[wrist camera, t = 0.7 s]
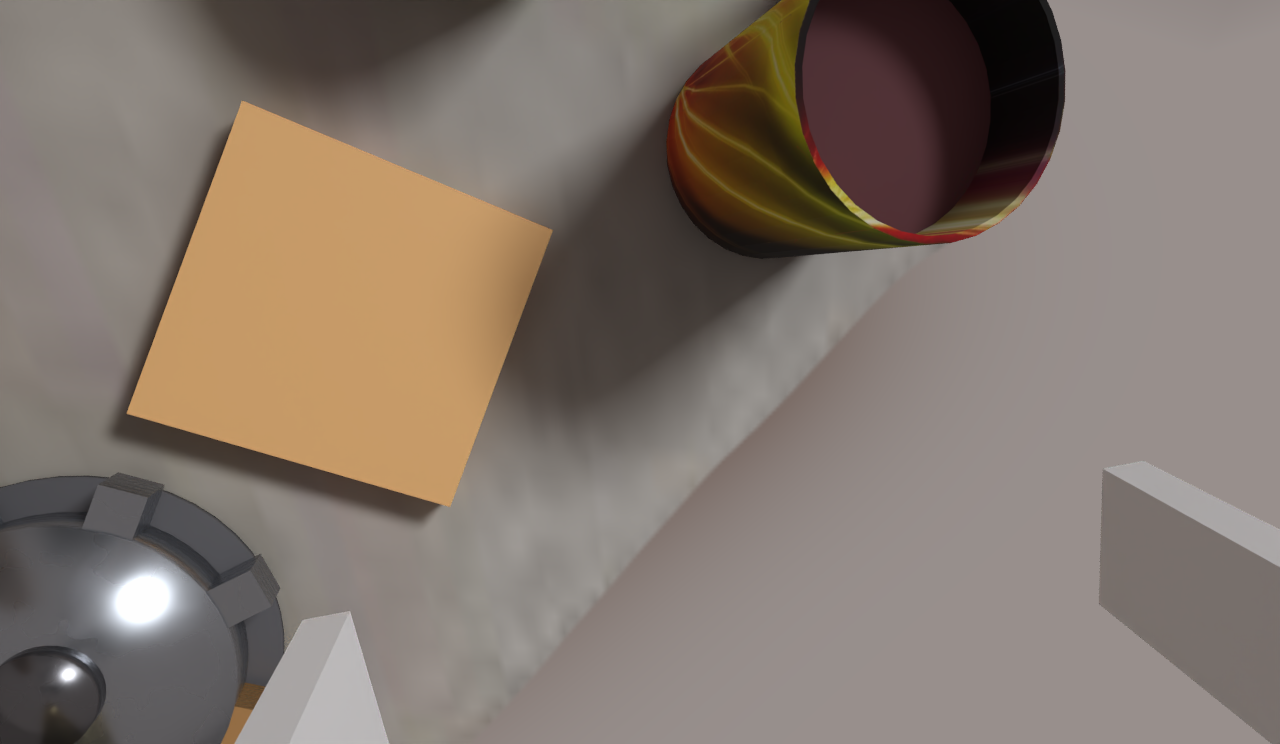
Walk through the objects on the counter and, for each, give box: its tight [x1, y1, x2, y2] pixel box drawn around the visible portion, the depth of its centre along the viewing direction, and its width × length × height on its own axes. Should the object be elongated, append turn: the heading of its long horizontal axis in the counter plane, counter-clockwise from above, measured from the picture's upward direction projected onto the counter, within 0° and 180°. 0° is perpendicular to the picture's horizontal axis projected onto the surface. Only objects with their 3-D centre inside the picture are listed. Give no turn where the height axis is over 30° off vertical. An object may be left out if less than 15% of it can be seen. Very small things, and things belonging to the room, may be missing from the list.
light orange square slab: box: [126, 101, 553, 507], centre depth 30 cm, size 12×12×2 cm
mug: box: [666, 0, 1065, 258], centre depth 28 cm, size 10×14×12 cm
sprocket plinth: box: [0, 476, 284, 687], centre depth 29 cm, size 14×14×1 cm
